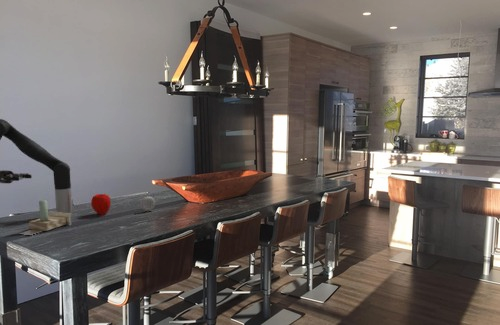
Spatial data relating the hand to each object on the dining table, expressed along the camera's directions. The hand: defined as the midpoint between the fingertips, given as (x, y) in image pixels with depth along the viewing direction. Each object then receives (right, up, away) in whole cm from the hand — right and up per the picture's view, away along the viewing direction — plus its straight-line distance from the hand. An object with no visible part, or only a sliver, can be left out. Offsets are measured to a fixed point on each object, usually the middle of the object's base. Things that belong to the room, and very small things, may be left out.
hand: (24, 177), depth 232 cm
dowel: (+15, -27, -7) cm, 31 cm away
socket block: (+15, -28, -4) cm, 32 cm away
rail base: (+14, -28, -8) cm, 33 cm away
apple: (+34, -25, +26) cm, 50 cm away
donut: (+62, -24, +34) cm, 75 cm away
